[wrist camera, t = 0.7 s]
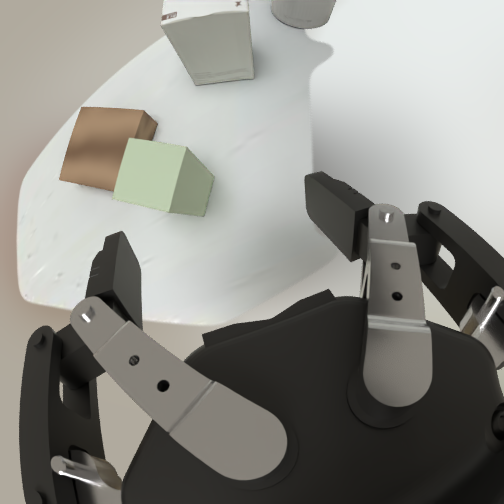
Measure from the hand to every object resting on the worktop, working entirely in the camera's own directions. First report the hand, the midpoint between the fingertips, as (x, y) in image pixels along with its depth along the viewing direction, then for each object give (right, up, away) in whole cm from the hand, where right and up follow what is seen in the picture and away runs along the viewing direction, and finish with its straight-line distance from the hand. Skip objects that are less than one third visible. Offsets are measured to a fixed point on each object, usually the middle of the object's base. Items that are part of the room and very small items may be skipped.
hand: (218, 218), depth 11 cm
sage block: (-6, +6, +22) cm, 23 cm away
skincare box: (-3, +24, +20) cm, 31 cm away
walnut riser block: (-17, +12, +21) cm, 30 cm away
